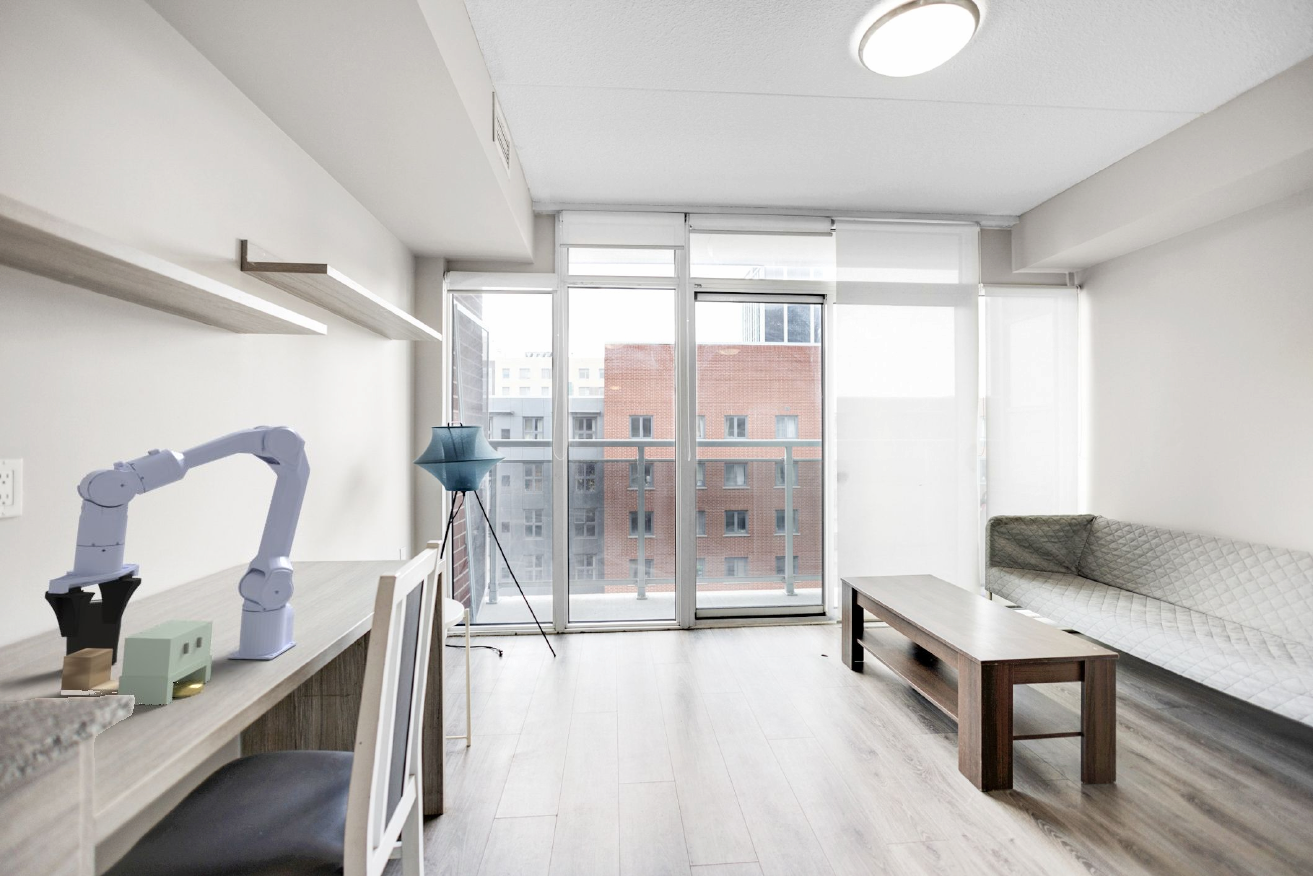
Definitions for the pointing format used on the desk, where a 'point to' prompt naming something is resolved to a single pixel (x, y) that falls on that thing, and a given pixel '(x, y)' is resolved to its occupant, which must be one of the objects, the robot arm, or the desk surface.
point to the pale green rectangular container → (165, 660)
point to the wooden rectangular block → (89, 672)
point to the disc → (187, 688)
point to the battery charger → (95, 632)
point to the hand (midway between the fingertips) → (91, 629)
